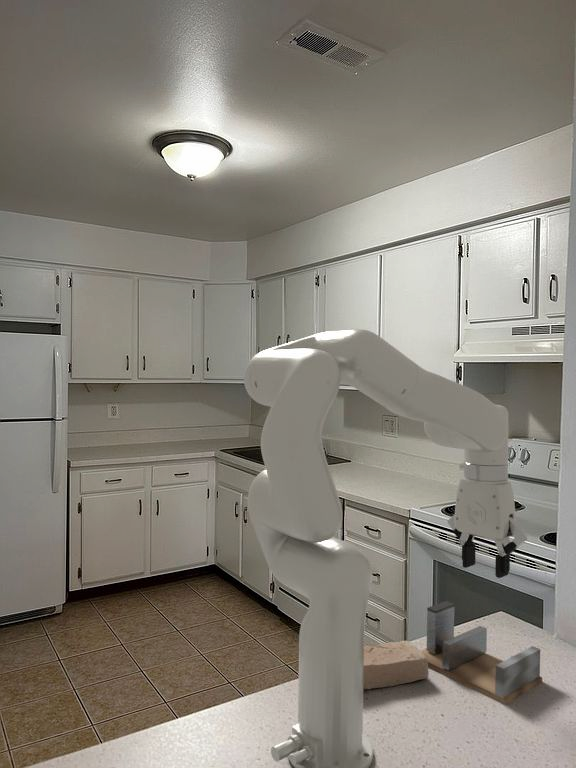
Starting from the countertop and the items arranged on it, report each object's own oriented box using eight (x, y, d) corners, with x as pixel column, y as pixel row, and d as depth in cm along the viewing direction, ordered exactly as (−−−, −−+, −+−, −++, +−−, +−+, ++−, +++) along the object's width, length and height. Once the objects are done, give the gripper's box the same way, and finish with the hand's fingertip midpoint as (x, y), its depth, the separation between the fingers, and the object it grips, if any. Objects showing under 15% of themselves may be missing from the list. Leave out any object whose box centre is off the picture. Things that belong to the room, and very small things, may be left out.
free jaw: (448, 670, 110) (449, 624, 110) (416, 654, 116) (417, 611, 115) (486, 652, 117) (487, 609, 117) (454, 638, 123) (455, 597, 123)
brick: (408, 660, 116) (408, 635, 116) (430, 680, 108) (430, 654, 108) (328, 672, 111) (328, 647, 111) (346, 695, 103) (346, 668, 103)
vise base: (505, 705, 101) (506, 669, 101) (412, 659, 116) (413, 629, 116) (542, 682, 108) (542, 650, 108) (450, 642, 124) (450, 614, 124)
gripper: (433, 468, 112) (433, 563, 113) (519, 482, 99) (518, 589, 99) (457, 464, 117) (456, 555, 118) (542, 476, 104) (541, 579, 104)
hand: (485, 570), depth 109 cm, fingers open, 6 cm apart
